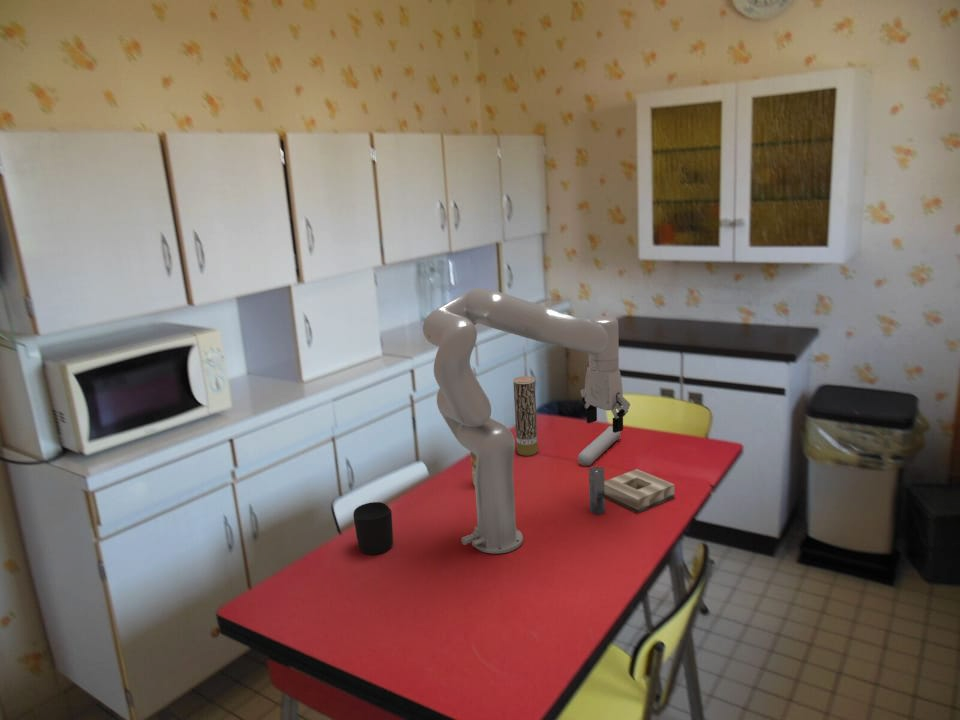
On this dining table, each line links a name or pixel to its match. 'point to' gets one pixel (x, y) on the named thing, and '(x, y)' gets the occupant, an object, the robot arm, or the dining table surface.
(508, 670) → the dining table surface
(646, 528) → the dining table surface
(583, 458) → the tube
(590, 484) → the steel peg
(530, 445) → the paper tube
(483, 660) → the dining table surface
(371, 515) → the pen holder
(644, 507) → the socket block
